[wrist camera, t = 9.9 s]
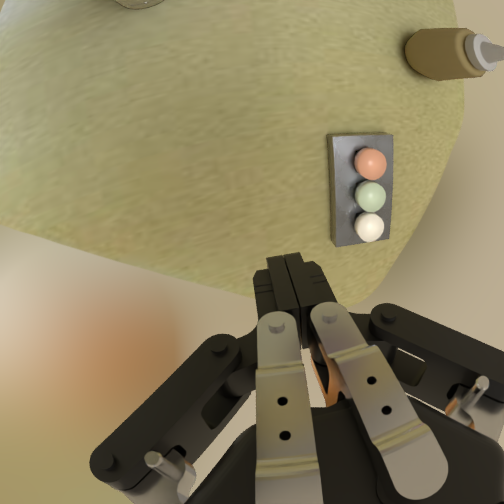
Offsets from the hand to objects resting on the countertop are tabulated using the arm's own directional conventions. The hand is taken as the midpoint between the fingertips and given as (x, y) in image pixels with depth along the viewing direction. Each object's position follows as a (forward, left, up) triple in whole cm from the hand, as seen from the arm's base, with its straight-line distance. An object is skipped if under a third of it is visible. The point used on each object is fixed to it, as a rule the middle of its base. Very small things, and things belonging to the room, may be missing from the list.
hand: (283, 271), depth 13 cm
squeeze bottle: (-14, +27, -27) cm, 41 cm away
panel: (+6, +15, -27) cm, 32 cm away
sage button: (+6, +15, -26) cm, 31 cm away
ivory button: (+11, +15, -26) cm, 32 cm away
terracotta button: (+2, +15, -26) cm, 30 cm away
